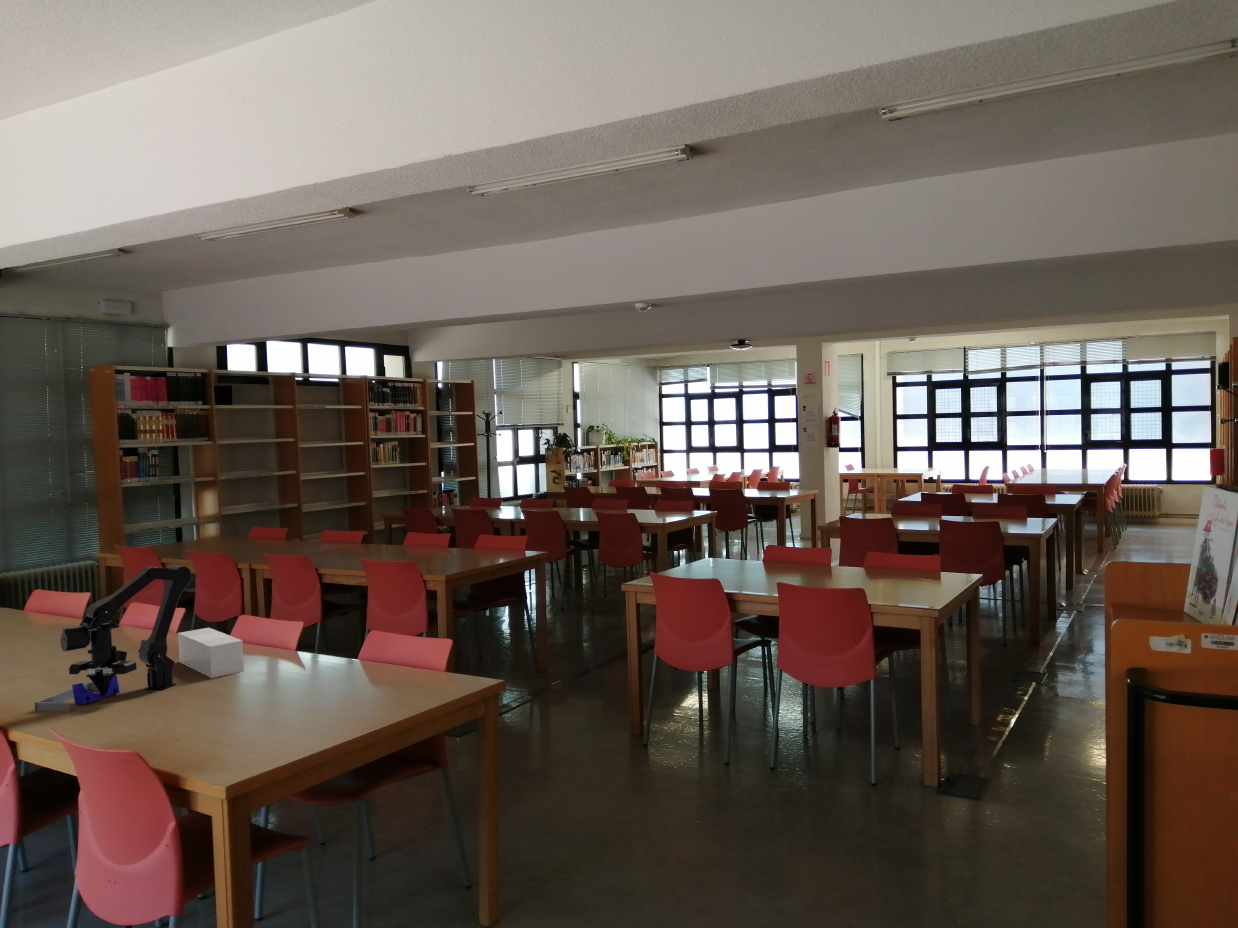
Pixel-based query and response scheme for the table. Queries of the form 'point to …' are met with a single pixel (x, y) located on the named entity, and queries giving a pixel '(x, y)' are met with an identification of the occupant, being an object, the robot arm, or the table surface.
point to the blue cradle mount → (84, 696)
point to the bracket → (56, 701)
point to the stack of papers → (211, 652)
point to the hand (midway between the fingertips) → (104, 695)
